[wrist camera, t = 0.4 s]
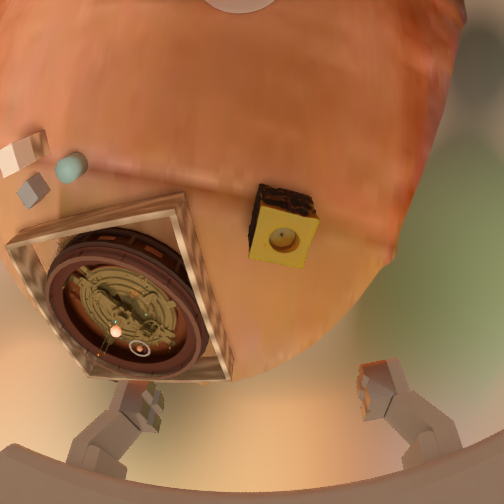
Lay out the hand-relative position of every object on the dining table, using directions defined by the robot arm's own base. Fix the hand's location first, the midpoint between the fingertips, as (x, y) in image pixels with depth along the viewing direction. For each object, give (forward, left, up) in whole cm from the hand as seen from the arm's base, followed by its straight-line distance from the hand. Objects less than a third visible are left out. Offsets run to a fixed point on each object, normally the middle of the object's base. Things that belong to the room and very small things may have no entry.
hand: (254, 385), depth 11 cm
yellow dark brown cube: (+15, +2, -46) cm, 49 cm away
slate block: (-1, -49, -46) cm, 68 cm away
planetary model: (+32, -38, -47) cm, 68 cm away
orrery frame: (+32, -38, -46) cm, 68 cm away
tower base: (-10, -45, -46) cm, 65 cm away
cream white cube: (-10, -45, -41) cm, 62 cm away
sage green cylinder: (-3, -36, -46) cm, 59 cm away
